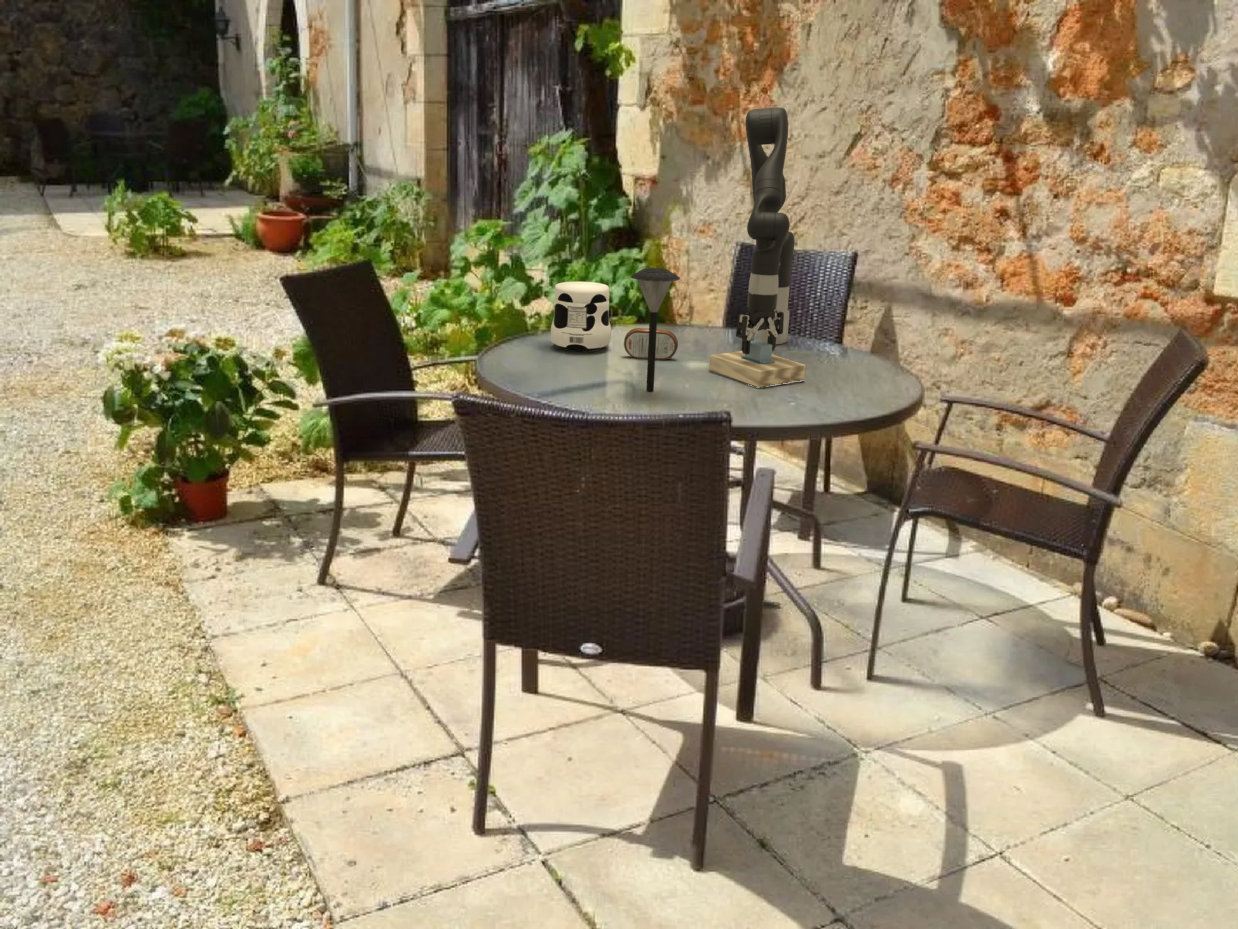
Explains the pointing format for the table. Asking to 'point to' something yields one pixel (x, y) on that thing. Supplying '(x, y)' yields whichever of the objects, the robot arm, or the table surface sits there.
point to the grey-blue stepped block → (759, 353)
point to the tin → (639, 341)
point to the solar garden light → (653, 308)
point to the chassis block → (756, 369)
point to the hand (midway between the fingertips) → (758, 352)
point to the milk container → (581, 316)
